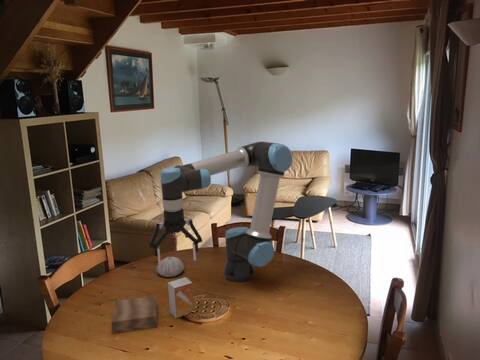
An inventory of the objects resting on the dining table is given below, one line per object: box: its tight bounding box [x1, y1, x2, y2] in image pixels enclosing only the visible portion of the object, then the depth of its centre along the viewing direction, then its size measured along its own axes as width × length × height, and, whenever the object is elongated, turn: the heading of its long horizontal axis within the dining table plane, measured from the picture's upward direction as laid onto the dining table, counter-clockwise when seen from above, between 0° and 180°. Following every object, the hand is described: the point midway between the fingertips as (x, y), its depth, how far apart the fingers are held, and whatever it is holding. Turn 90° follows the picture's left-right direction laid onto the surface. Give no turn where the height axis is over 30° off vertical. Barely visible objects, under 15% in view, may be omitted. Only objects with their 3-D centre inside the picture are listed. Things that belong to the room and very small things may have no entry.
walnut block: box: [111, 295, 158, 334], centre depth 158 cm, size 16×16×5 cm
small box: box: [167, 276, 195, 319], centre depth 161 cm, size 8×6×13 cm
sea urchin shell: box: [156, 256, 185, 278], centre depth 198 cm, size 13×14×8 cm
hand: (177, 261), depth 158 cm, fingers open, 13 cm apart
